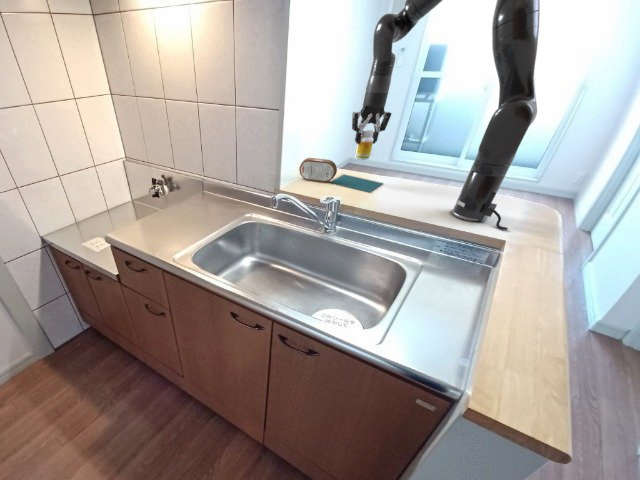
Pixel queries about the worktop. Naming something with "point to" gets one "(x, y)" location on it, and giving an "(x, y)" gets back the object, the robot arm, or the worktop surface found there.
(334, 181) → the mat
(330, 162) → the tin
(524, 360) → the worktop surface
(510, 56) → the robot arm
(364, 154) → the supplement bottle
